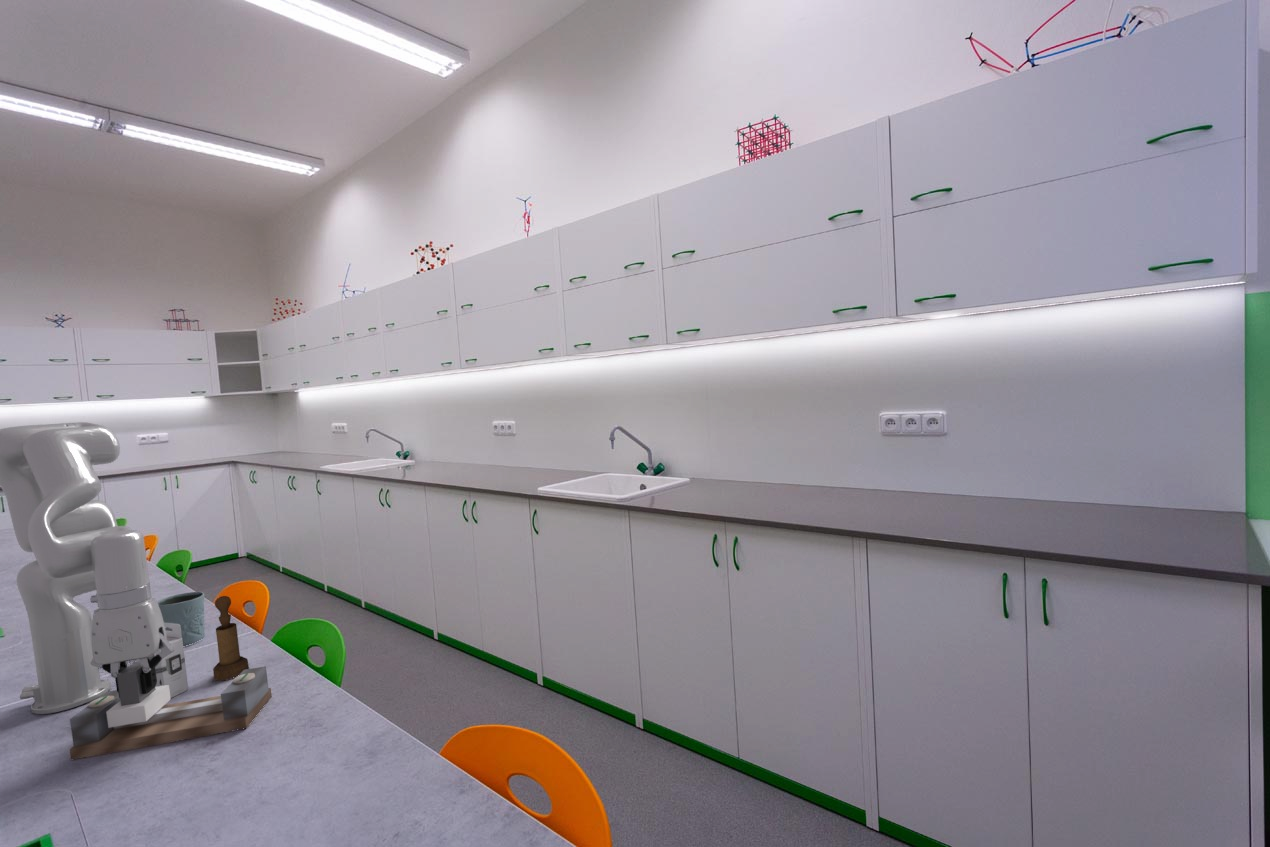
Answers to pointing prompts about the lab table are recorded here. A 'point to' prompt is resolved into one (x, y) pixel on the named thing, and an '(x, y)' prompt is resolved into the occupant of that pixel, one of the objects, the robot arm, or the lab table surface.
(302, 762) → the lab table surface
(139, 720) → the carriage
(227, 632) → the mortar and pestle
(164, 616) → the blue-grey plant pot
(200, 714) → the rail stand
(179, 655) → the ink box
